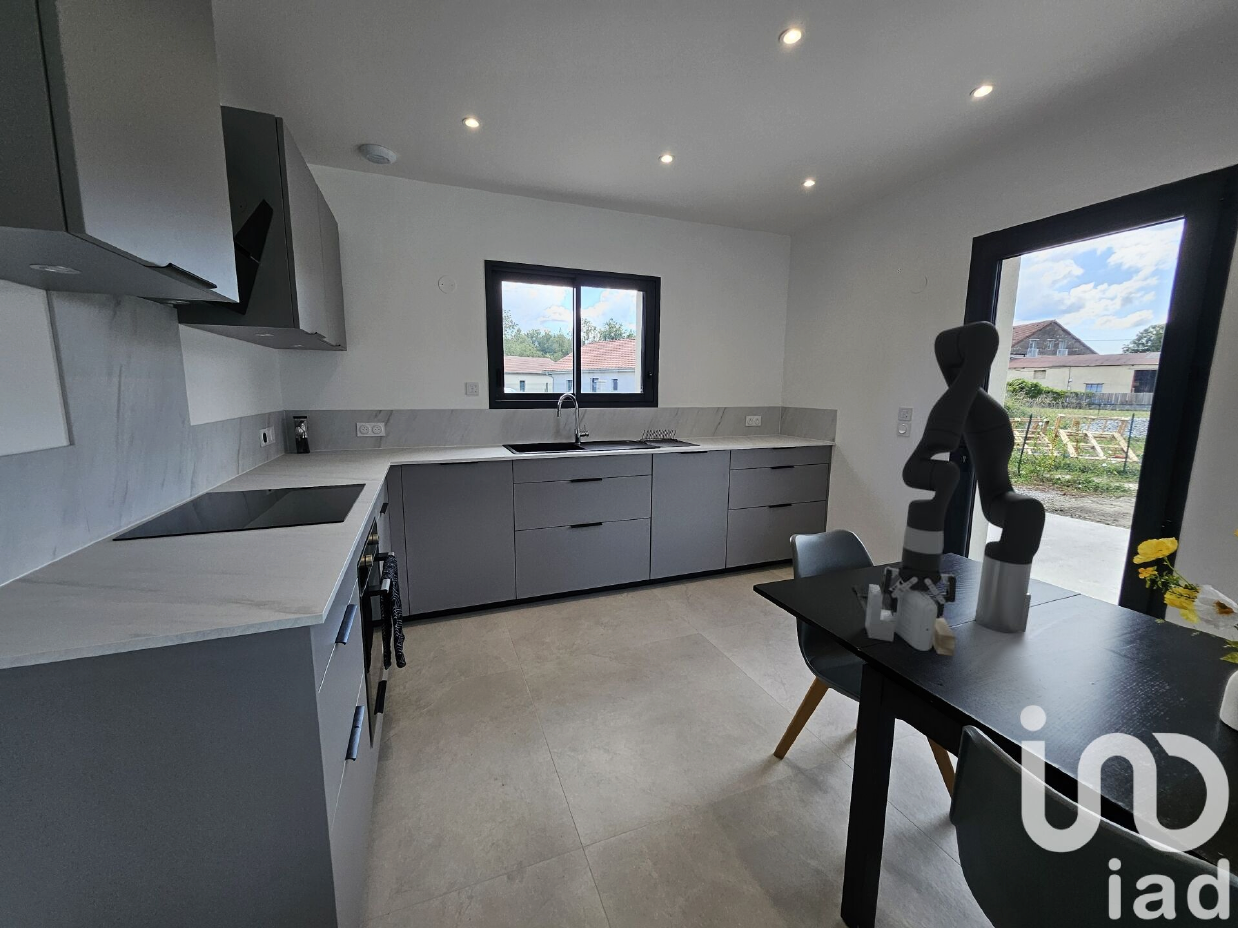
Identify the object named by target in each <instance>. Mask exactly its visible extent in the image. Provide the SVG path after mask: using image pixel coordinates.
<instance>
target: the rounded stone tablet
mask: <svg viewBox="0 0 1238 928" xmlns="http://www.w3.org/2000/svg"><path fill="white" fill-rule="evenodd" d="M897 597H898V605H897V613H894V612H892V613H893V614H892V615H893V618H894V621H895V627H894V633H896V634H897V635H899V636H900V637H901V638H902V639H903V640H904V641H905V642H906V643H908V644H909V645H910V646H912V647H913V649H916V650H918V651H922V652H924V651H925V652H926V651H927V652H928V651H929V650H930V649H932V646H933V644H932V643H933V636H934V630H935V623H936V616H937V606H936V604H935V600H933V599H932V598H931V597H930V596H929V595H928V594H927V593H926V592H924V591H920V590H911V589H909V588H908V589H907V590H906V591H904V592H902V593H901V594H899V595H898V596H897Z"/></svg>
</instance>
